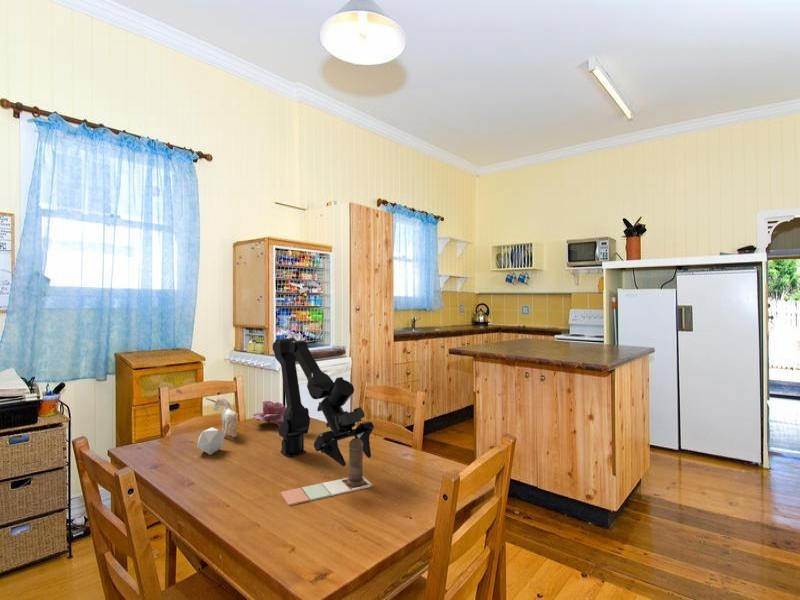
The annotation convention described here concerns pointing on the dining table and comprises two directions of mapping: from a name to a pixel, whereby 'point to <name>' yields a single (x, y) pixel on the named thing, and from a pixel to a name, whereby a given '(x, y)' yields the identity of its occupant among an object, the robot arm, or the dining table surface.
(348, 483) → the walnut pawn
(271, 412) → the flower
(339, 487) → the strip
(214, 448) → the die
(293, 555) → the dining table surface
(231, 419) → the unicorn figurine
